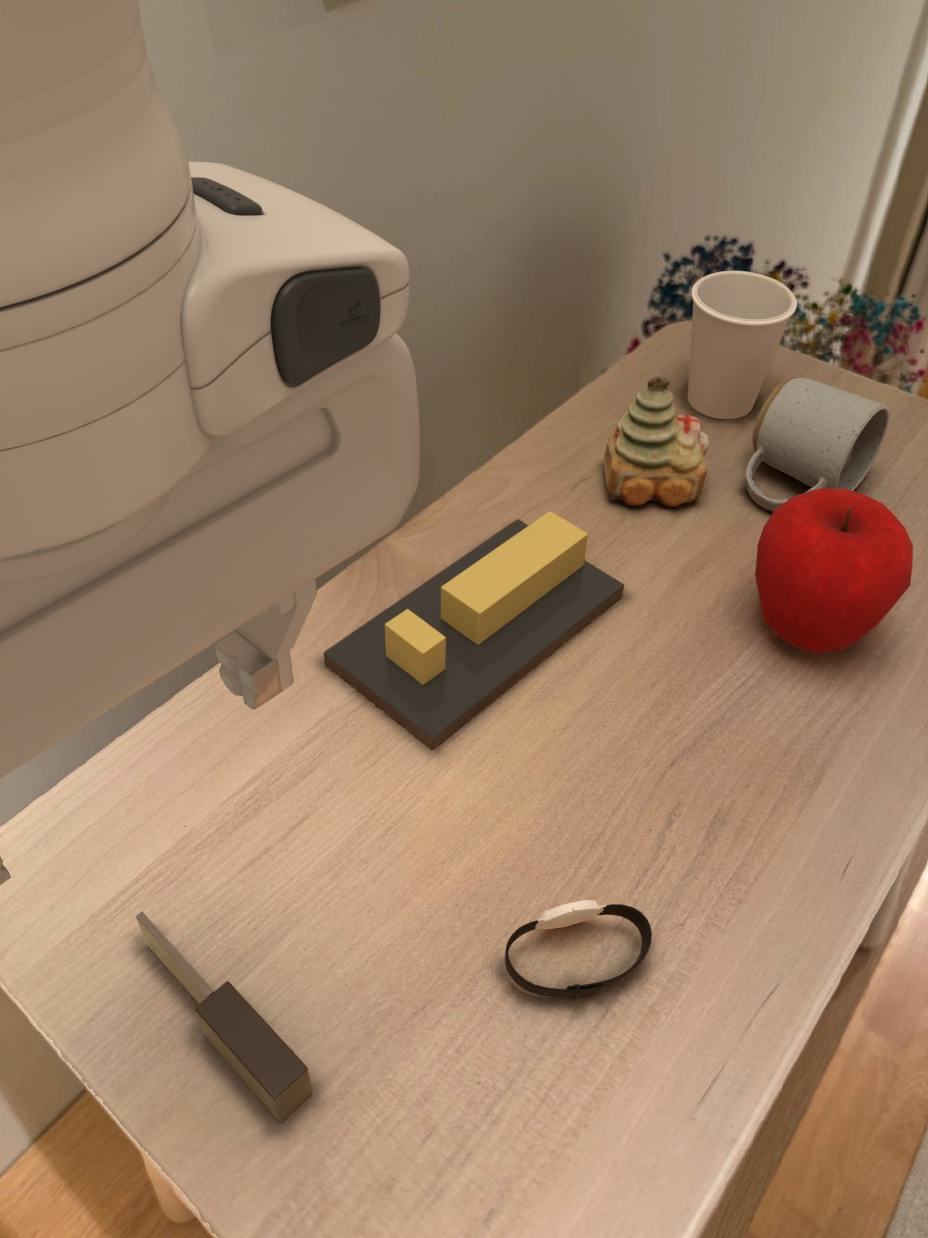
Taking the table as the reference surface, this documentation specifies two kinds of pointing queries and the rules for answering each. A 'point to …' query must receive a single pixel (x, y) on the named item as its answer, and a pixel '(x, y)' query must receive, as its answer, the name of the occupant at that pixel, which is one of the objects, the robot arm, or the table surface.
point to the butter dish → (467, 647)
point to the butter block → (513, 577)
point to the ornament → (656, 451)
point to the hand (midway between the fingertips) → (127, 776)
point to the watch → (570, 916)
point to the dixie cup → (734, 339)
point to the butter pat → (415, 646)
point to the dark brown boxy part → (238, 1033)
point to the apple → (831, 568)
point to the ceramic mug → (816, 437)
